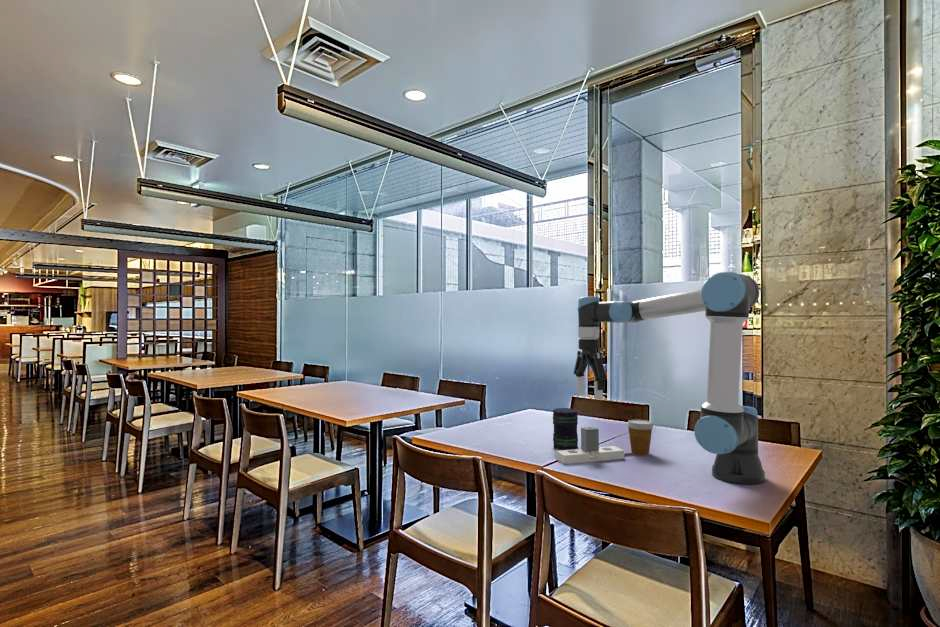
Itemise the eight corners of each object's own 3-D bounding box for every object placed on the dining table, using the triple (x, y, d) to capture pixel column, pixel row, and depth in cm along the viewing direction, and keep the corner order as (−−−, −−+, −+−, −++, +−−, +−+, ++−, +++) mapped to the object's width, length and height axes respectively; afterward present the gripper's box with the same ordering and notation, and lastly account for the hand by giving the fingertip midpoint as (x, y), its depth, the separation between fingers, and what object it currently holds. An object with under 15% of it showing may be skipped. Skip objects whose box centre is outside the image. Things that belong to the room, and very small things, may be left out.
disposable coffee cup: (650, 450, 200) (649, 419, 200) (656, 457, 190) (656, 424, 190) (624, 449, 201) (624, 419, 201) (629, 456, 191) (629, 423, 192)
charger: (598, 455, 187) (598, 427, 187) (586, 456, 186) (586, 428, 186) (593, 453, 191) (593, 425, 191) (581, 454, 190) (580, 426, 190)
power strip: (638, 457, 190) (638, 448, 190) (564, 464, 182) (564, 455, 182) (627, 452, 197) (627, 444, 197) (555, 459, 189) (555, 450, 189)
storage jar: (559, 443, 212) (559, 407, 213) (582, 446, 207) (581, 409, 207) (548, 448, 204) (548, 410, 205) (571, 452, 199) (571, 413, 199)
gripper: (616, 339, 178) (616, 400, 178) (582, 337, 203) (582, 391, 202) (596, 339, 176) (597, 402, 176) (564, 337, 201) (565, 392, 200)
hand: (589, 396), depth 189 cm, fingers open, 13 cm apart
